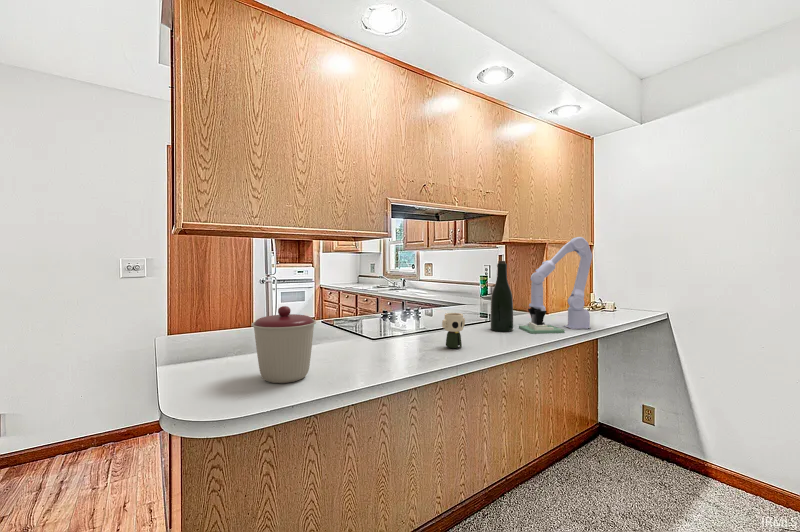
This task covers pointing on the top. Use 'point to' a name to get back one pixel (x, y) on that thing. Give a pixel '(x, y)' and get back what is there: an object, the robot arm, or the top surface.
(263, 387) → the top surface
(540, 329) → the board
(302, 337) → the canister
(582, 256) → the robot arm
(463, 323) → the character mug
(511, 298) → the wine bottle
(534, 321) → the plug
